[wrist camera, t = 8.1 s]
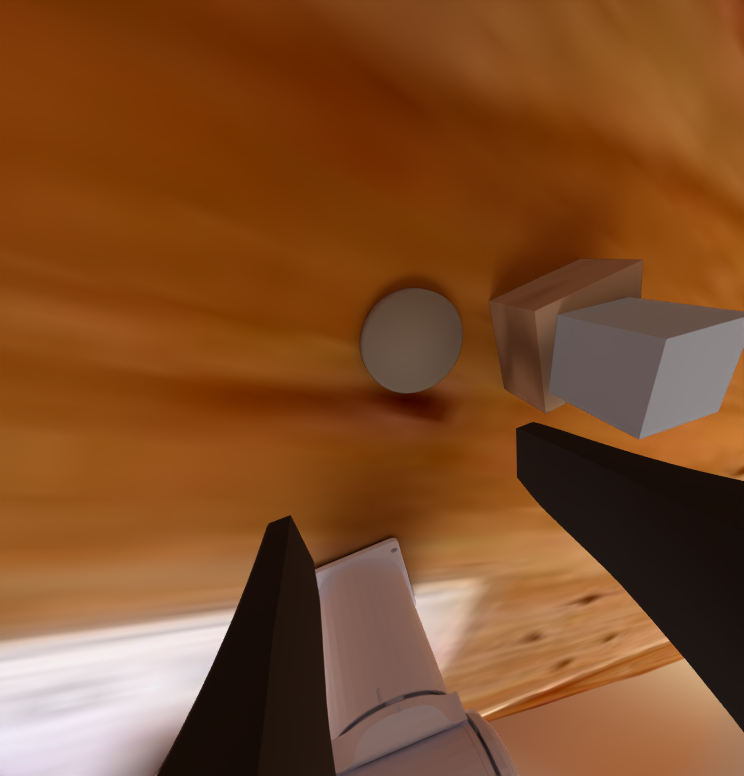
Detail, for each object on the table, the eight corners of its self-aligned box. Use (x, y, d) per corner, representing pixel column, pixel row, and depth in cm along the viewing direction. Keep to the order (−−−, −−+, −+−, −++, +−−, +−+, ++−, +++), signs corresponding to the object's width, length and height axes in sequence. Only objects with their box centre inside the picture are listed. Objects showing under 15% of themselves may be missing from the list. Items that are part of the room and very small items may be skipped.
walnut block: (580, 349, 22) (636, 367, 19) (502, 387, 22) (545, 413, 18) (576, 258, 19) (642, 259, 16) (486, 300, 19) (534, 311, 15)
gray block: (612, 373, 18) (718, 411, 14) (548, 392, 18) (638, 439, 13) (628, 297, 16) (757, 313, 12) (557, 314, 16) (666, 338, 11)
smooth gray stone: (456, 369, 20) (466, 375, 19) (370, 397, 19) (376, 406, 18) (447, 275, 18) (457, 276, 16) (346, 303, 17) (351, 306, 16)
